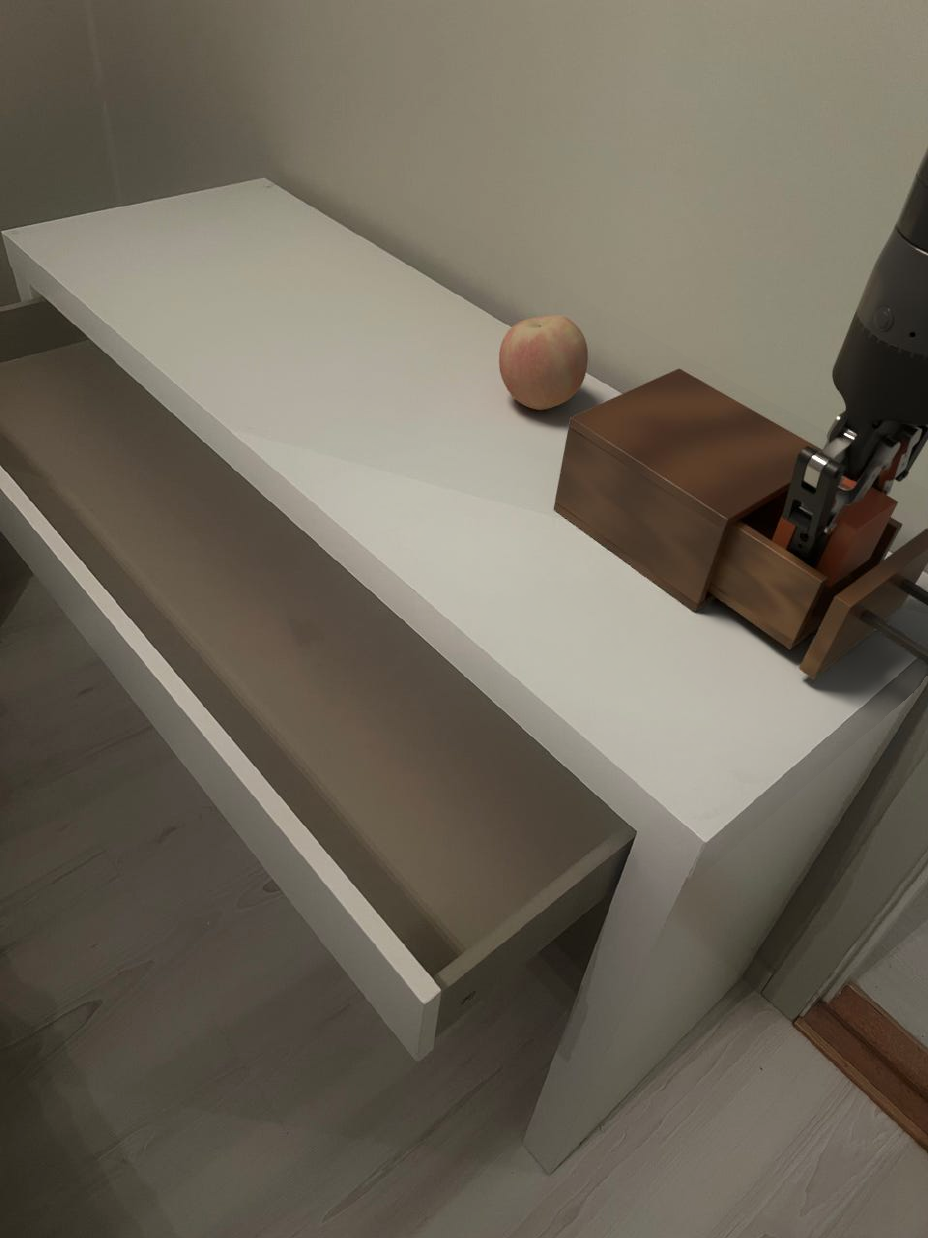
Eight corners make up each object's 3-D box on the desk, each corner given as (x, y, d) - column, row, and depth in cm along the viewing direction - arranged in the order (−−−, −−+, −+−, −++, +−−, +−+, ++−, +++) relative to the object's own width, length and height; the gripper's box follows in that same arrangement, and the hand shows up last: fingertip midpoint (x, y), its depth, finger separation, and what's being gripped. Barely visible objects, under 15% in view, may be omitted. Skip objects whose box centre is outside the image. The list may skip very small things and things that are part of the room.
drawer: (987, 663, 64) (1037, 591, 60) (902, 743, 59) (950, 672, 54) (752, 513, 74) (778, 441, 70) (659, 569, 69) (682, 496, 64)
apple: (559, 375, 89) (572, 295, 83) (594, 418, 84) (611, 337, 78) (482, 385, 87) (490, 304, 81) (514, 430, 82) (525, 347, 76)
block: (869, 559, 64) (899, 501, 61) (829, 588, 62) (857, 530, 58) (809, 521, 67) (833, 464, 63) (768, 548, 64) (791, 490, 61)
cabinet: (795, 545, 73) (834, 455, 67) (694, 613, 67) (727, 520, 61) (655, 456, 81) (679, 367, 75) (552, 509, 74) (569, 416, 68)
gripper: (922, 387, 46) (807, 625, 59) (1047, 314, 54) (922, 539, 66) (797, 326, 50) (713, 561, 62) (930, 264, 57) (832, 486, 69)
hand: (821, 549), depth 64 cm, fingers closed on block, 5 cm apart
